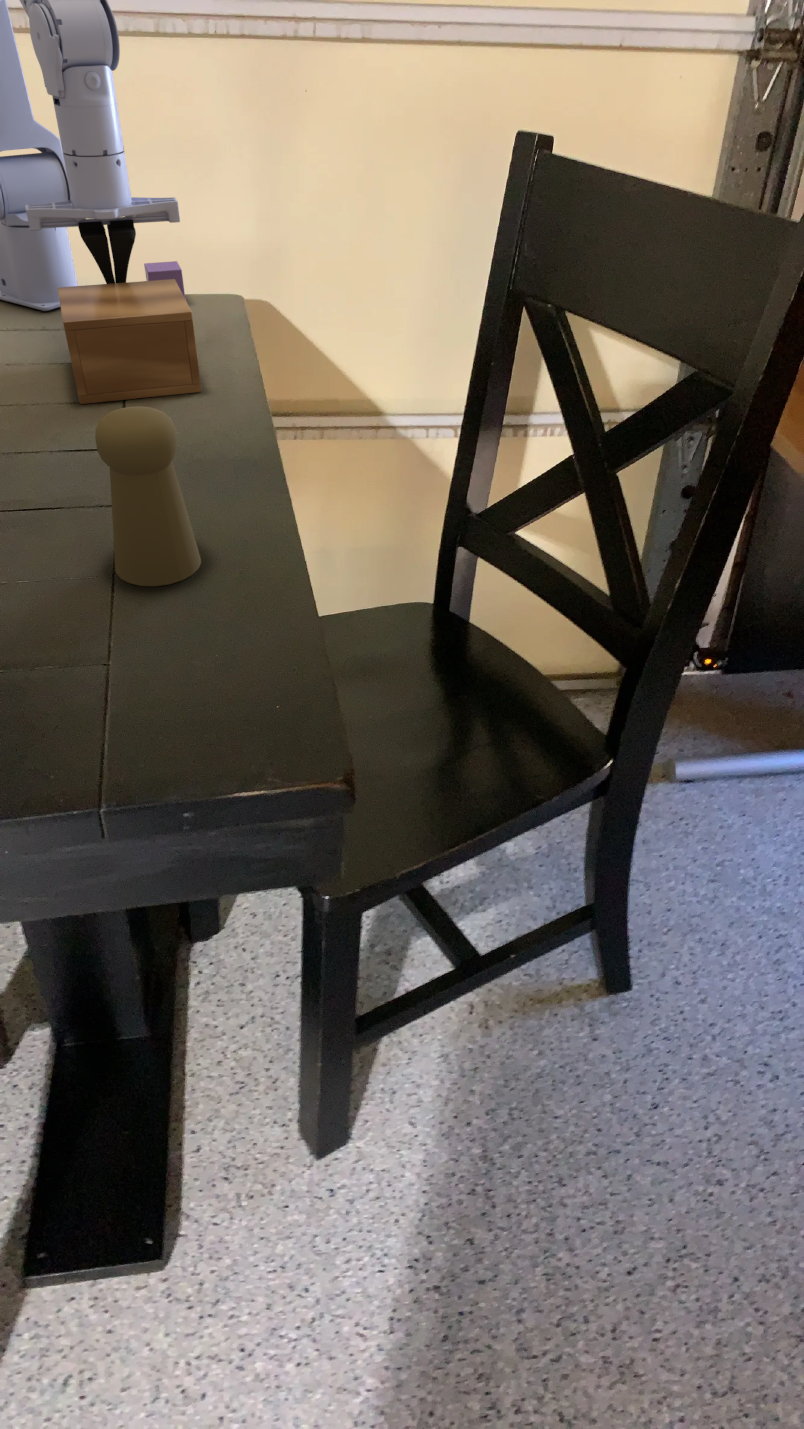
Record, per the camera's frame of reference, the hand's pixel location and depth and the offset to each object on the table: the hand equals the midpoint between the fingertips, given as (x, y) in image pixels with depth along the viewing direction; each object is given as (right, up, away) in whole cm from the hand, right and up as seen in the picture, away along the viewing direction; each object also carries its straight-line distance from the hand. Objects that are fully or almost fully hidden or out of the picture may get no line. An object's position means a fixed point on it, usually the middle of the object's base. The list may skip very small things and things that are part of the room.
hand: (118, 300), depth 100 cm
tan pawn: (+12, -33, -32) cm, 47 cm away
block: (+1, +8, +17) cm, 19 cm away
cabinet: (+3, -9, -3) cm, 10 cm away
